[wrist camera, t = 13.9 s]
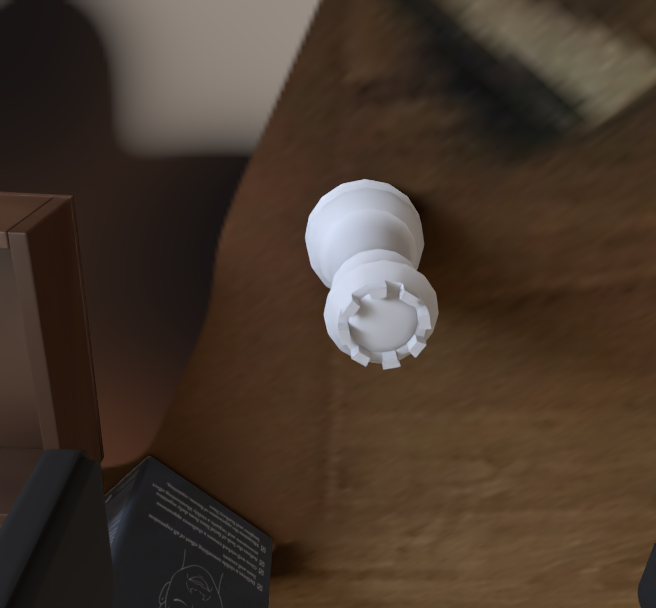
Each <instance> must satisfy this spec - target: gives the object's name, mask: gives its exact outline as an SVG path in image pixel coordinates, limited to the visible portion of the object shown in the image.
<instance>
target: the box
mask: <svg viewBox="0 0 656 608" xmlns="http://www.w3.org/2000/svg"><path fill="white" fill-rule="evenodd" d="M104 497H105V505H106V514H107V522H108V531H109V540H110V548H111V557H112V565H113V574H114V584H115V589H114V599H113V604H112V608H268V604H269V588H270V573H271V558H272V539H271V538H270V537H269V536H267V535H266V534H264V533H263V532H261V531H260V530H258V529H257V528H255V527H254V526H252V525H251V524H250V523H248V522H247V521H245V520H244V519H242V518H241V517H239V516H238V515H236V514H235V513H233V512H232V511H230V510H229V509H227V508H226V507H225V506H223V505H222V504H220V503H219V502H217V501H216V500H214V499H213V498H211V497H210V496H208V495H207V494H206V493H204V492H203V491H201V490H200V489H198V488H197V487H195V486H194V485H192V484H191V483H189V482H188V481H186V480H185V479H184V478H182V477H181V476H179V475H178V474H176V473H175V472H173V471H172V470H170V469H169V468H167V467H166V466H165V465H163V464H162V463H160V462H159V461H157V460H156V459H154V458H153V457H151V456H148V457H146V458H145V459H144V460H143V461H142V462H141V463H140V464H139V465H138V466H136V467H135V468H134V469H133V470H132V471H131V472H130V473H129V474H127V475H126V476H125V477H124V478H123V479H122V480H121V481H120V482H119V483H118V484H117V485H116V486H115V487H113V488H112V489H111V490H110V491H109V492H108V493H107V494H106V495H104Z"/></svg>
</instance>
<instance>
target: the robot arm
mask: <svg viewBox="0 0 656 608" xmlns="http://www.w3.org/2000/svg"><path fill="white" fill-rule="evenodd" d="M114 589H115V584H114V574H113V565H112V557H111V548H110V540H109V531H108V522H107V514H106V505H105V497H104V488H103V480H102V471H101V465H100V462H99V460H89V456H88V453H87V451H86V450H71V449H47V450H45V451H44V453H43V454H42V455H41V457H40V459H39V460H38V462H37V464H36V466H35V467H34V469H33V471H32V473H31V475H30V476H29V478H28V480H27V482H26V483H25V485H24V487H23V489H22V490H21V492H20V494H19V496H18V497H17V499H16V501H15V503H14V505H13V506H12V508H11V510H10V512H9V513H8V515H7V517H6V519H5V520H4V522H3V524H2V526H1V527H0V608H112V604H113V599H114ZM638 598H639V603H640V606H641V608H656V542H655V544H654V547H653V549H652V552H651V555H650V557H649V560H648V562H647V565H646V568H645V570H644V573H643V575H642V578H641V580H640V583H639V587H638Z"/></svg>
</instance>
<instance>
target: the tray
mask: <svg viewBox="0 0 656 608" xmlns="http://www.w3.org/2000/svg"><path fill="white" fill-rule="evenodd" d="M47 449H71V450H86V451H87V453H88V456H89V460H99V462H100V463H101V461H102V460H103V458H104V453H103V444H102V436H101V428H100V418H99V410H98V401H97V393H96V384H95V376H94V367H93V359H92V350H91V342H90V333H89V325H88V316H87V307H86V299H85V290H84V282H83V273H82V265H81V256H80V247H79V239H78V230H77V222H76V213H75V205H74V196H72V195H54V194H36V193H15V192H0V525H2V524H3V522H4V520H5V519H6V517H7V515H8V513H9V512H10V510H11V508H12V506H13V505H14V503H15V501H16V499H17V497H18V496H19V494H20V492H21V490H22V489H23V487H24V485H25V483H26V482H27V480H28V478H29V476H30V475H31V473H32V471H33V469H34V467H35V466H36V464H37V462H38V460H39V459H40V457H41V455H42V454H43V453H44V451H45V450H47Z"/></svg>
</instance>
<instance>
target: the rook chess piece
mask: <svg viewBox="0 0 656 608" xmlns="http://www.w3.org/2000/svg"><path fill="white" fill-rule="evenodd" d="M305 241H306V245H307V250H308V254H309V259H310V263H311V267H312V268H313V270H314V271H315V272H316V274H317V275H318V276H319V278H320V279H321V281H322V282H323V283H324V284H325V285H326V286H327V287H328V288H330V289H331V291H330V292H329V294H328V297H327V301H326V306H325V311H324V318H325V323H326V327H327V331H328V335H329V336H330V337H331V338H332V340H333V341H334V342H335V344H336V345H337V346H338V348H339V349H340V350H341V351H343V352H345V353H347V354H348V355H350V356H351V359H353V360H355V361H357V362H358V363H360V364H362V365H364V366H365V367H366V366H367V364H368V362H373V363H382V366H383V370H384V369H389V368H395V367H400V362H399V360H401V359H403V358H404V357H406V356H408V355H410V354H412V355H413V356H414V357H415V358H416V357H417V356H418V354H419V353H420V352H421V351H422V350H423V348H424V347H425V346H426V345H427V344H426V342H425V341H426V340H427V339H428V338H429V337H430V335H431V334H432V333H433V330H434V327H435V324H436V320H437V317H438V314H439V312H438V305H437V297H436V292H435V291H434V289H433V288H432V286H431V285H430V283H429V282H428V280H427V279H426V277H425V276H424V275H423V274H421V273H419V272H418V271H417V269H418V266H419V262H420V259H421V255H422V252H423V248H424V239H423V232H422V224H421V222H420V216H419V214H418V212H417V211H416V209H415V207H414V206H413V204H412V203H411V201H410V200H409V198H408V196H406V195H405V194H403V193H402V192H400V191H399V190H397V189H396V188H394V187H393V186H391V185H390V184H388V183H383V182H377V181H372V180H367V179H364V180H359V181H354V182H349V183H344V184H341V185H339V186H338V187H336V188H335V189H333V190H332V191H330V192H329V193H327V194H326V195H324V196H323V197H322V198H321V199H320V201H319V202H318V204H317V205H316V207H315V208H314V210H313V211H312V213H311V214H310V216H309V219H308V224H307V230H306V235H305Z"/></svg>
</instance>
